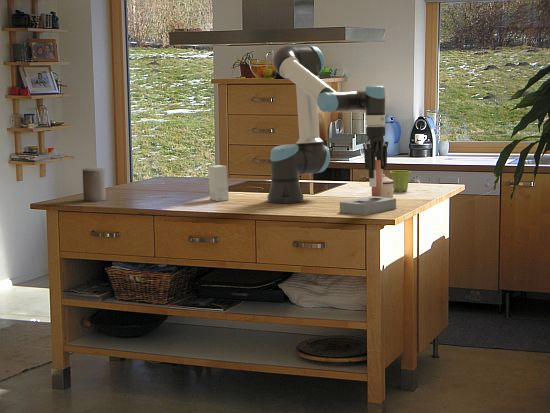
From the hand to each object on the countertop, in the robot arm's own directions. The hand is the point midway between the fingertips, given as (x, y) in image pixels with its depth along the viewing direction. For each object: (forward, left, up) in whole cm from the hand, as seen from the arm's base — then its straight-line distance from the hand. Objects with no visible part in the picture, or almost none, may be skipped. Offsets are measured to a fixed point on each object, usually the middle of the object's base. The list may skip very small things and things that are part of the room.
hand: (376, 185), depth 371 cm
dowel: (0, 0, -4) cm, 4 cm away
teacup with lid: (-8, +14, -9) cm, 19 cm away
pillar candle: (-115, -51, -9) cm, 126 cm away
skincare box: (-70, -19, -9) cm, 73 cm away
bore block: (0, -5, -9) cm, 10 cm away
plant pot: (-24, +49, -9) cm, 55 cm away
